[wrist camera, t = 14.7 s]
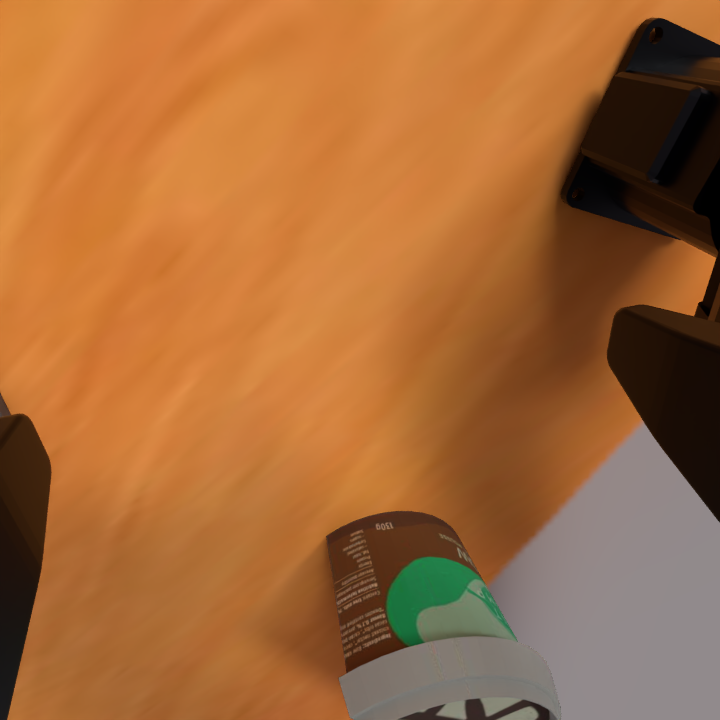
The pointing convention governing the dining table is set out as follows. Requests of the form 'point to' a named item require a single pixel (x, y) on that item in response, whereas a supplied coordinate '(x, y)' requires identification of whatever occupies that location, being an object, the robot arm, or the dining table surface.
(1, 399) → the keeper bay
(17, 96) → the dining table surface
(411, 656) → the food container
